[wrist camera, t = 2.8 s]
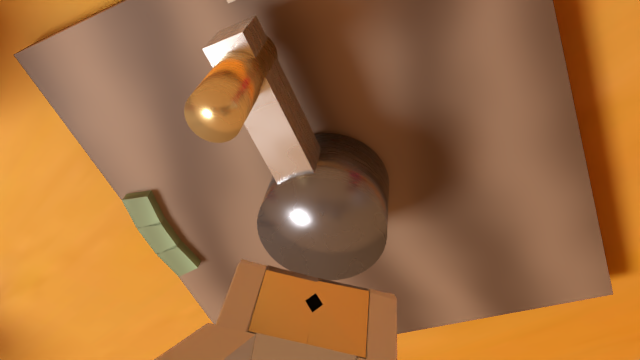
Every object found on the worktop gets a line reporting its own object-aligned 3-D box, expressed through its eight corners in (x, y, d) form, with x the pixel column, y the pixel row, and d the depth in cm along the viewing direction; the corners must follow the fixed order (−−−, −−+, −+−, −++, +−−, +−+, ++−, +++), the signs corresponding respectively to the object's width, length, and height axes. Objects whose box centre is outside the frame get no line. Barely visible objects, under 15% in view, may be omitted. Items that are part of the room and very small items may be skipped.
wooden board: (507, -187, 19) (517, -188, 18) (604, 275, 30) (616, 302, 29) (31, 44, 27) (6, 59, 25) (247, 345, 38) (240, 369, 36)
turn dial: (405, 213, 28) (405, 319, 22) (303, 239, 30) (277, 343, 24) (307, -15, 22) (271, 44, 16) (189, 37, 24) (117, 106, 18)
